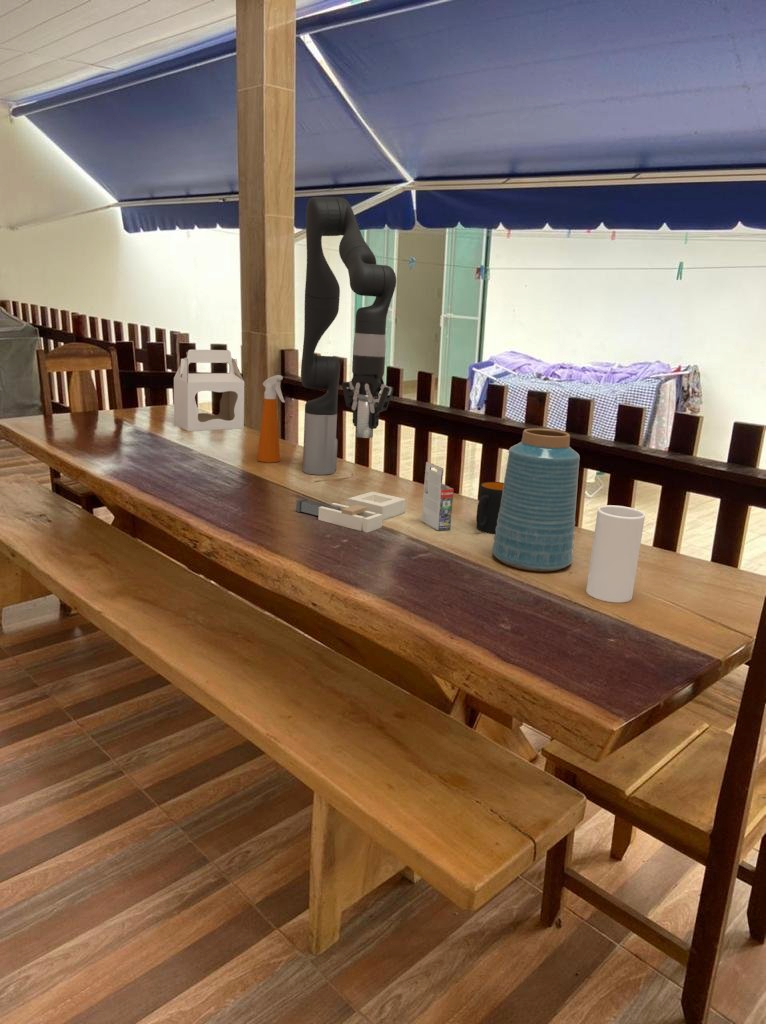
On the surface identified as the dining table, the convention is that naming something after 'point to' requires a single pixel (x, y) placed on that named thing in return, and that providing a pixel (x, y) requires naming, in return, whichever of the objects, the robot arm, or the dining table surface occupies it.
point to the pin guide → (351, 517)
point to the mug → (489, 506)
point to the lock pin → (311, 506)
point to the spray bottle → (270, 422)
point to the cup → (615, 553)
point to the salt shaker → (363, 417)
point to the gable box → (216, 382)
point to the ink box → (436, 500)
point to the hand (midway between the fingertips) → (365, 427)
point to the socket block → (380, 504)
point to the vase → (538, 503)
